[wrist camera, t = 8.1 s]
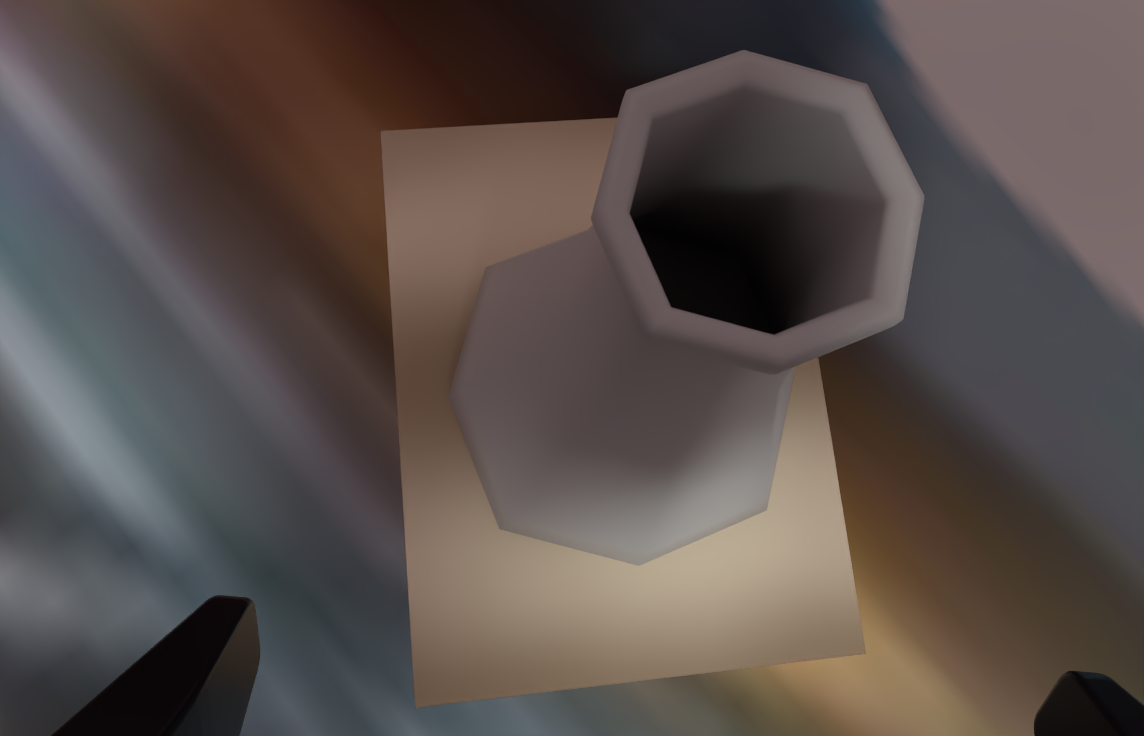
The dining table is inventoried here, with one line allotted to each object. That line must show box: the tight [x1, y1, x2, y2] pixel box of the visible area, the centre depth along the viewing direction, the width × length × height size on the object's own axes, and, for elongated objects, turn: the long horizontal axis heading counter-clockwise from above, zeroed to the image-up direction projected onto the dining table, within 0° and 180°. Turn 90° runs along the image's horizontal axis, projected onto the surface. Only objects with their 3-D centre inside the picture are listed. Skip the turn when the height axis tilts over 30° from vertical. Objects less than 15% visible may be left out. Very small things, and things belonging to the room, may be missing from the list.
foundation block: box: [381, 118, 866, 708], centre depth 19 cm, size 12×9×3 cm
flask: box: [448, 50, 925, 566], centre depth 13 cm, size 7×7×10 cm
